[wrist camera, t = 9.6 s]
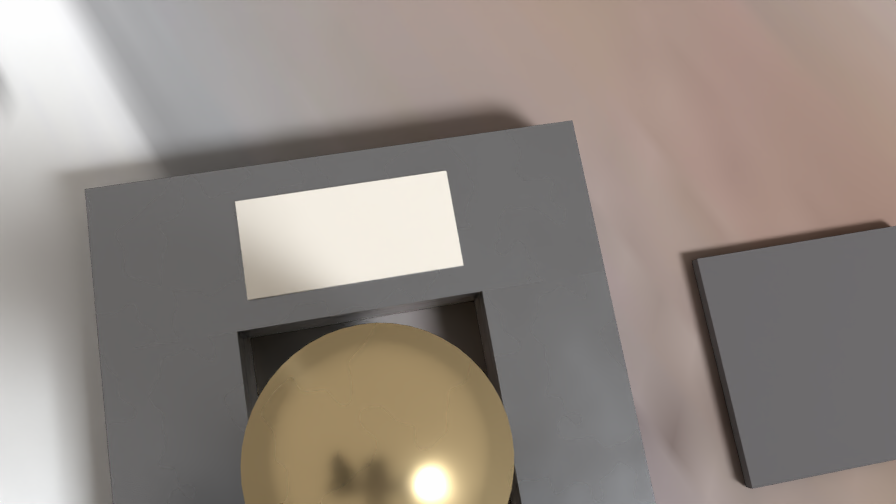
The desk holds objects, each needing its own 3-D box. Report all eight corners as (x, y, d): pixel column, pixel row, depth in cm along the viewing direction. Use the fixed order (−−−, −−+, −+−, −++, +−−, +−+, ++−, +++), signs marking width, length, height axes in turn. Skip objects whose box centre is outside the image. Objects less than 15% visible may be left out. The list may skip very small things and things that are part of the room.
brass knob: (477, 504, 22) (538, 574, 13) (312, 537, 21) (259, 632, 12) (448, 341, 23) (487, 303, 14) (289, 369, 22) (224, 346, 13)
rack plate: (670, 672, 21) (733, 733, 17) (166, 787, 20) (112, 882, 16) (557, 143, 24) (589, 93, 20) (110, 207, 23) (53, 166, 19)
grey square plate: (957, 444, 23) (967, 444, 23) (746, 486, 22) (752, 488, 22) (893, 227, 25) (901, 225, 24) (692, 261, 24) (697, 258, 23)
